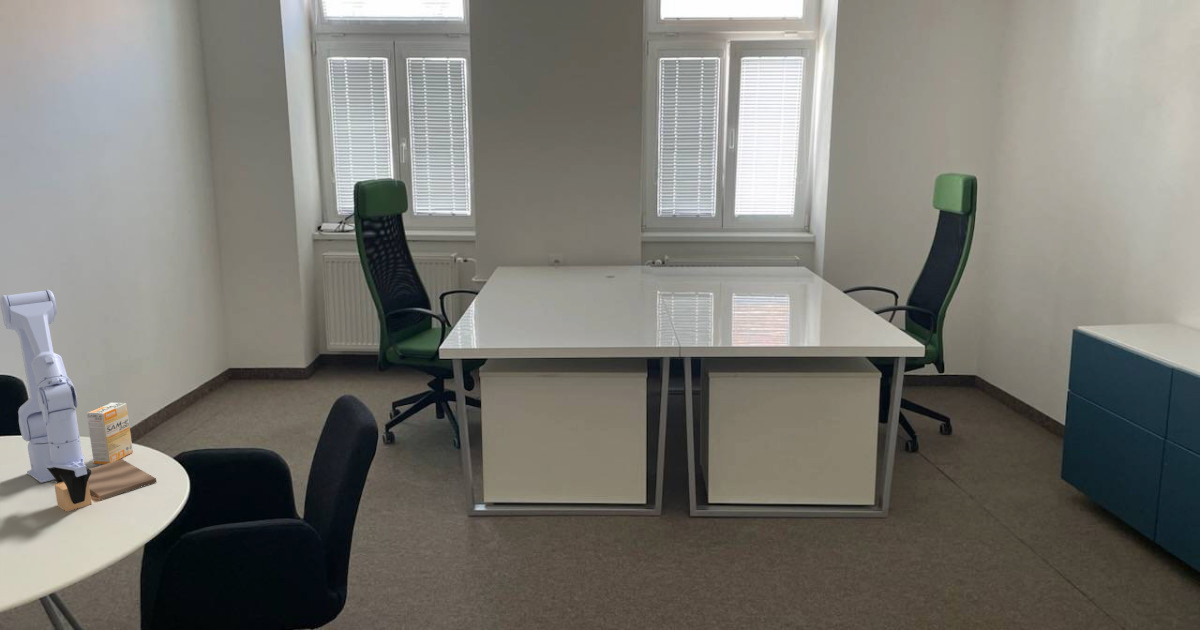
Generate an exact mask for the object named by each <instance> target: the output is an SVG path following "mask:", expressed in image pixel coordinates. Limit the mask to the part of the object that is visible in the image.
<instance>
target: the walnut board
mask: <svg viewBox="0 0 1200 630" xmlns="http://www.w3.org/2000/svg"><path fill="white" fill-rule="evenodd" d="M89 469H90V470H91V475H90V477H89V479H88V483H89V489H90V495H92V496H94V497H95V498H97V499H98V500H100V501H103V500H106V499H109V498H112V497H115V496H118V494H119V495H121V493H122V494H124V493H123V492H125V493H127V492H126V491H128V492H130V490H131V491H134V490H136V489H135V488H137V489H140V488H142V487H141V486H144V485H147V486H149V485H148V484H150V485H153V484H156V483H157V477H155V476H153V475H151V474H149V473H147V472H146V471H143V470H142V469H141V468H139V467H137V466H135V465H134V464H131V463H129V462H128V461H126V460H124V459H122V458H121V459H119V460H118V461H115V462H111V463H108V464H100V465H99V466H95V467H91V468H89ZM155 482H156V483H155ZM152 483H153V484H152ZM139 487H140V488H139ZM144 487H145V486H144ZM133 489H134V490H133ZM111 496H112V497H111ZM105 498H106V499H105ZM102 499H103V500H102Z"/></svg>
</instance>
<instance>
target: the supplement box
mask: <svg viewBox="0 0 1200 630" xmlns="http://www.w3.org/2000/svg"><path fill="white" fill-rule="evenodd" d="M128 412H129V411H128V405H127V403H126V402H109V403H107V404H104V405H102V406H100V407H97V408H95V409H92V410H90V411H88V412H86V417H87V425H88V431H89V439H90V445H91V447H90V448H91V452H92V453H91V455H92V459H93V464H96V465H104V464H108V463H111V462H115V461H118V460H122V458H125V457H126V456H129V455H130V454H133V453H134V450H133V443H132V433H131V428H130V421H129V419H130V418H129V413H128Z"/></svg>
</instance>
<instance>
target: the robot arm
mask: <svg viewBox="0 0 1200 630" xmlns="http://www.w3.org/2000/svg"><path fill="white" fill-rule="evenodd" d="M0 309H1V314H2V318H3V319H2V320H3V325H4V326H5V328H6V329H7V330H12V331H13V330H14V331H15V332H16V334H17V335H18V338H19V343H20V348H21V355H22V360H23V366H24V372H25V376H26V377H25V378H26V382H27V383H26V384H27V388H28V392H29V393H28V394H29V399H27V400H26V401H25V402H24V403H23V404H22V405H20V407H18V411H17V413H18V424H19V430H20V434H21V438H22V440H24V441H25V442H28V443H27V452H28V457H29V463H30V469H29V470H27V471H26V473H27V474H28V475H29V476H30V477H33V479H35V480H37V481H38V482H39V483H41V484H43V483H45V482H50V481H53V480H55V482H56V483H59V482H64V483H65V485H66V487H67V489H68V491H69V495H70V498H71V500H72V502H73V503H74V504H77V503H80V502H83V501H85V494H86V486H87V482H88V479H89V477H90V475H91V470H90V469H91V468H87V465H86V464H85V456H84V454H83V450H82V444H81V437H80V432H79V430H80V429H79V425H78V419H77V412H76V409H77V408H78V394H77V391H76V388H75V386H74V384H73V382H72V379H71V378H70V377H68V374H67V370H66V366H65V364H64V363H65V362H64V361H63V357H62V356H61V355H60V354H58V353H55V351H54V348H53V343H52V336H51V331H50V325H51V324H53V322H54V321H55V317H56V315H57V303H56V298H55V295H54V293H53V291H52V290H50V289H45V290H40V291H39V290H38V291H31V292H30V291H29V292H22V293H16V294H15V293H14V294H7V295H6V294H3V295H1V297H0Z"/></svg>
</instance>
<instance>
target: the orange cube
mask: <svg viewBox="0 0 1200 630" xmlns="http://www.w3.org/2000/svg"><path fill="white" fill-rule="evenodd" d="M53 485H54V492H55V498H56V504H57V506H58V507H59V508H60V507H61V509H62V510H63V509H64V510H65V511H64V510H63V511H64V512H66V511H68V512H71V511H70V510H72V511H75V510H78V509H80V508H84V507H87V506H90V505H92V504H93V503H92V496H91V495H92V494H91V493H90V489H89V483H88V482H87V486H86V494H85V501H83V502H80V503H77V504H74V503H73V502H72V500H71V498H70V495H69V491H68V489H67V487H66V485H65V483H64V482H59V483H57V482H56V483H54V484H53ZM77 508H78V509H77ZM74 509H75V510H74Z"/></svg>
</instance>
